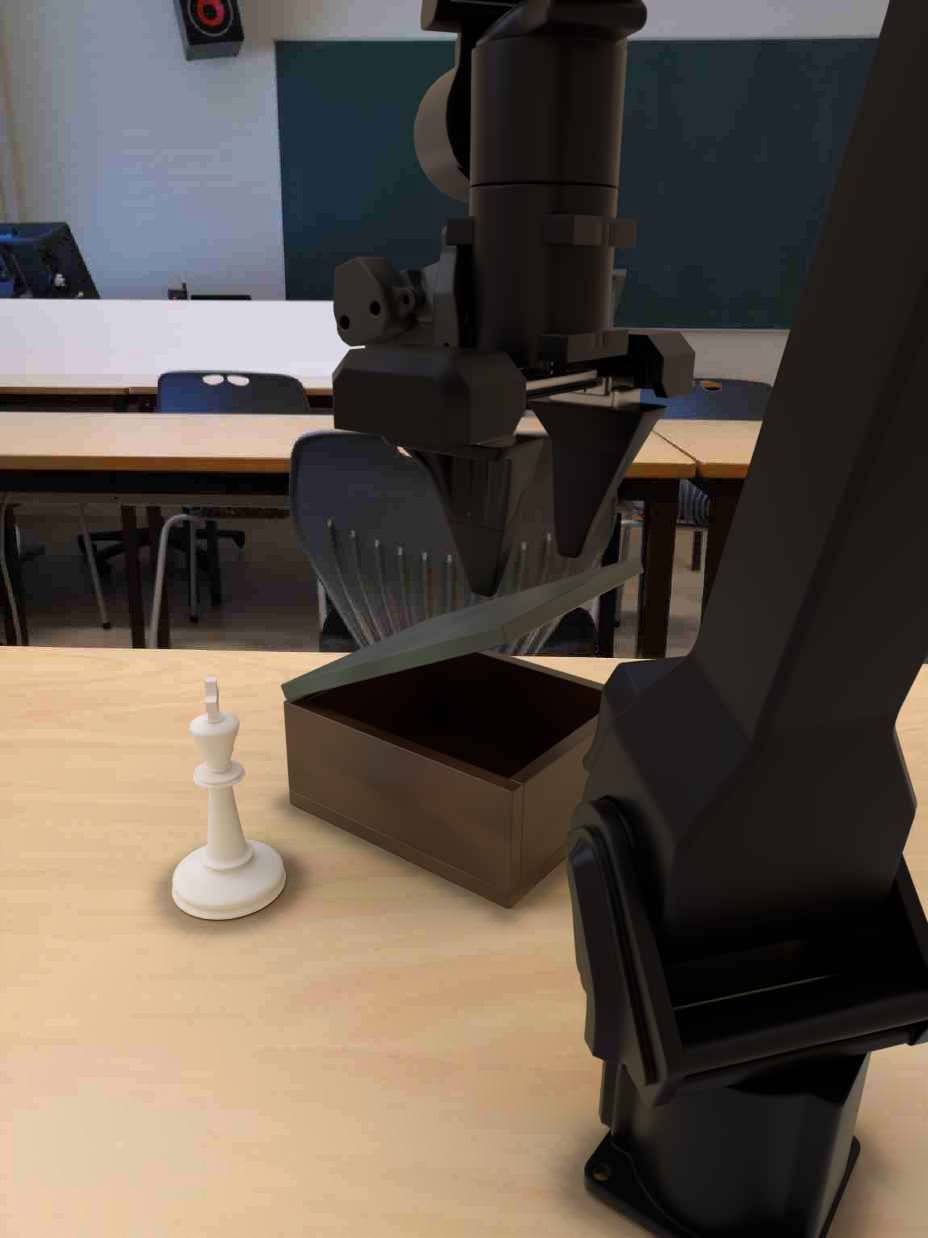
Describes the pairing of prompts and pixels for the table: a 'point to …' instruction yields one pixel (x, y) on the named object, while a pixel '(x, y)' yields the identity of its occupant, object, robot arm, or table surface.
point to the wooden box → (451, 765)
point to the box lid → (465, 630)
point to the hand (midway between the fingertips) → (528, 574)
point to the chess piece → (224, 832)
